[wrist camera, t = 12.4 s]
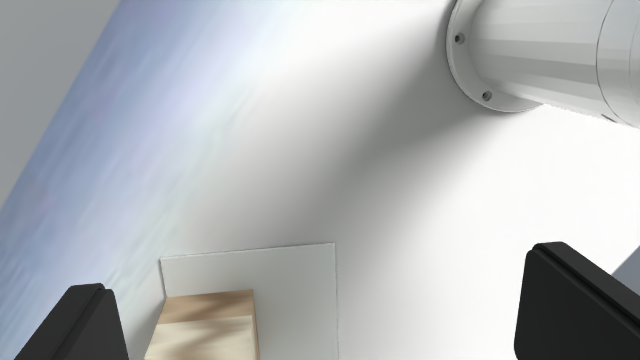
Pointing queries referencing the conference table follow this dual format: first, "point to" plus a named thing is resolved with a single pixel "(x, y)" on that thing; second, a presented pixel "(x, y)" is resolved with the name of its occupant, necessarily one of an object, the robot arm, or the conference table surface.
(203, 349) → the block upper
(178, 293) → the mat
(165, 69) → the conference table surface
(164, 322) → the block lower
